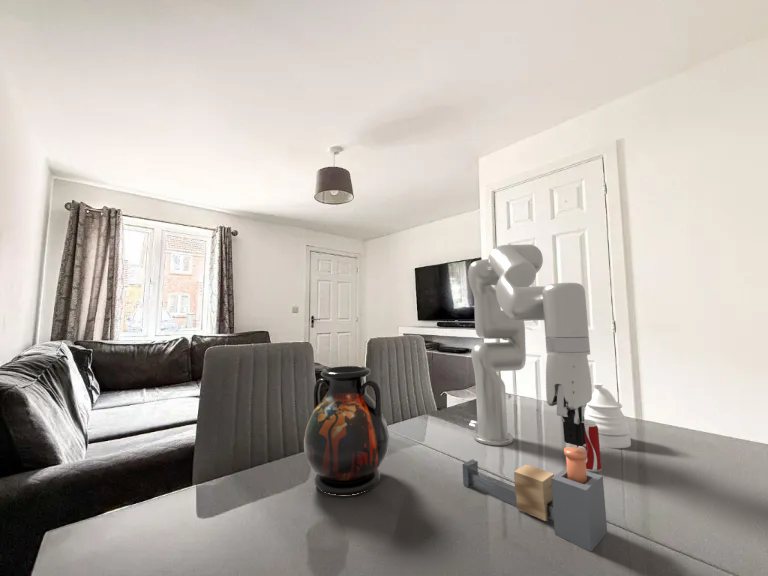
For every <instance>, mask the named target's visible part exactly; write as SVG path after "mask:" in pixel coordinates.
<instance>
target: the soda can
mask: <svg viewBox="0 0 768 576" xmlns="http://www.w3.org/2000/svg"><path fill="white" fill-rule="evenodd" d="M582 423H584V428H585V440H586V444H584V445H583V446H577V445H576V447H577V448H581V449H583V450H585V451H586V452H587V458H586V459H585V461H586V471H589V472H592V473H599V472H600V471H602V458H601V457H602V456H601V448H600V447H601V446H600V444H599V432H598V427H597V425H596V422H595V421H592V420H587V419H584V422H582Z"/></svg>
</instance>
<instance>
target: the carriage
mask: <svg viewBox="0 0 768 576" xmlns="http://www.w3.org/2000/svg"><path fill="white" fill-rule="evenodd" d="M513 475H514V477H513V478H514V479H513V480H514V487H515V494H516V500H517V507H516V509H517V510H520V511H522V512H524V513H526V514H529V515H531V516H533V517H535V518H537V519H539V520H541V521H543V522H548V521H547V520H548V517H547V504H548V503H549V502H550V501H551V502H553V497H552V482H551V478H552V477H554V476H555V473H553V472H550V471H548V470H547V471H546V470H544V469H541V468H538V467H535V466H532V465H529V464H527V463H526V464H524V465H522V466H521V467H519V468H517V469H516V470H514V471H513Z"/></svg>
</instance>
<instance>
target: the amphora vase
mask: <svg viewBox="0 0 768 576" xmlns="http://www.w3.org/2000/svg"><path fill="white" fill-rule="evenodd" d="M369 375H371V368H368V367H366V366H360V365H358V366H357V365H347V366H346V365H345V366H344V365H343V366H342V365H341V366H333V367H328V368H324V369H323V370H322V371H321V372H320V376H322V377H321V378H319V379H318V380H317V381H316V382H315V385H314V386H313V411H312V413H311V415H310V417H309V419H308V422H307V425H306V427H305V431H304V437H303V449H304V450H303V451H304V457H305V458H306V461H307V463H308V464H309V466H310V468H311V469H312V470H313V472H315V473H316V474H315V476H314V480H313V481H314V485H315V487H316V486H317V487H318V488H319V489H320V490H322V491H323V492H326V493H330V494H336V495H352V494H357V493H361V492H364V491H367V490H368V491H370V490H372V489H374V487H376V485H378V483H379V481H380V479H381V472H380V469H379V468H380V467H381V466H382V464H383V462H384V461H385V459H386V457H387V455H388V451H389V448H390V434H389V429H388V423H387V421H386V418H385V415H384V413H383V411H382V407H383V406H382V401H383V400H382V390H381V387H380V386H379V384H378V382H377V381H374V380H366V381H365V382H364V379H365V377H368V376H369ZM322 384H324V385H325V387H326V392H327V393H326V394H325V396H324V397H323V399H322V400H321V395H320V392H321V386H322ZM369 386H370V387H372V388H373V391H374V395H375V401H374V399H372V397H370V395H369V394H368V393H367V388H368V387H369ZM317 487H316V488H317ZM318 488H317V489H318ZM371 488H372V489H371ZM319 489H318V490H319ZM369 489H370V490H369ZM320 490H319V491H320ZM322 491H321V492H322ZM368 491H367V492H368ZM323 492H322V493H323ZM364 493H365V492H364ZM361 494H362V493H361Z"/></svg>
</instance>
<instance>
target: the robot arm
mask: <svg viewBox="0 0 768 576" xmlns="http://www.w3.org/2000/svg"><path fill="white" fill-rule="evenodd" d="M543 257H544V256H543V254H542V252H541V249H540V248H539V247H538V246H536V245H533V244H504V245H499V246H496V247H494V248H493V249H492V250H491V251H490V252H489V255H488V259H479V260H478V259H477V260H475V261H472V263H470V264H469V267H468V273H467V274H468V275H467V276H468V277H467V278H468V282H469V283H468V284H469V286H470V289H471V291H472V295H473V300H474V301H473V302H474V303H473V304H474V305H473V306H474V307H473V308H474V327H475V334H476V335H477V336H478V338H480V339H484V340H485V339H487V340H491V339H492V340H493V339H494V340H497V339H498V340H500V339H503V340H504V339H507V341H508V342H507V341H506V342H505V341H502V342H497V341H495V342H481V343H477V344H475V345H474V346H473V347H472V348H471V352H470V354H471V355H470V356H471V362H472V366H473V367H472V368H473V371H474V379H475V380H474V381H475V397H476V398H475V399H476V420H474V419H471V420H470V423H469V424H468V425H469V428H471V429H474V432H473V439H474V440H475V441H477V442H478V443H481V444H484V445H489V446H507V445H510V444H512V443H513V442H514V436H513V435H512V434H511V433H509V431H508V430H509V429H508V413H507V397H506V396H507V394H506V385H505V382H504V380H503V379H502V378H501V377H500V376H499V375H498V373H497V372H506V371H507V372H508V371H509V372H510V371H512V372H513V371H520V370H522V369H524V367H525V365H526V359H527V357H526V355H527V352H526V349H527V348H526V347H527V346H526V329H525V328H526V327H525V326H526V325H525V321H543V322H544V335H545V336H544V337H545V347H546V349H545V350H546V354H547V355H546V363H545V393H546V394H545V395H546V397H545V398H546V403H547V405H548V406H550V407H554V406H556V415H557V416H560V418H561V421H562V427H563V428H562V429H563V440H564V443H566V444H569V445H574V446H576V447H577V446H583V445H584V444H586V440H585V428H584V423H582V422H584V419H585V418H584V414H585V412H584V411H585V409H586V407H587V403H589V402H590V401H591V399H592V394H593V392H592V391H593V389H592V380H591V379H592V378H591V371H590V364H589V359H588V355H591V347H590V334H589V322H588V312H587V311H588V310H587V298H586V297H587V296H586V291H585V287H584V286H583V285H582V284H581V283H578V282H558V283H551V284H547V285H544V286H543V285H542V286H539V285H538V286H532V284H534V282H535V280H536V276H537V274H538V273H539V271H540V270H541V268H542V266H543V263H544V262H543V261H544V258H543ZM494 286H495V287H496V288H495V287H494Z"/></svg>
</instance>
